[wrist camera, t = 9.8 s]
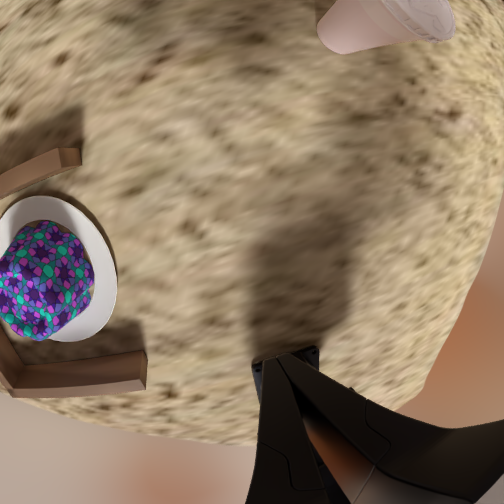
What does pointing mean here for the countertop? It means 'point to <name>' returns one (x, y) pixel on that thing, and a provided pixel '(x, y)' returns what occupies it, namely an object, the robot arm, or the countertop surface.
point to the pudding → (53, 272)
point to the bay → (71, 372)
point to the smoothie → (384, 23)
